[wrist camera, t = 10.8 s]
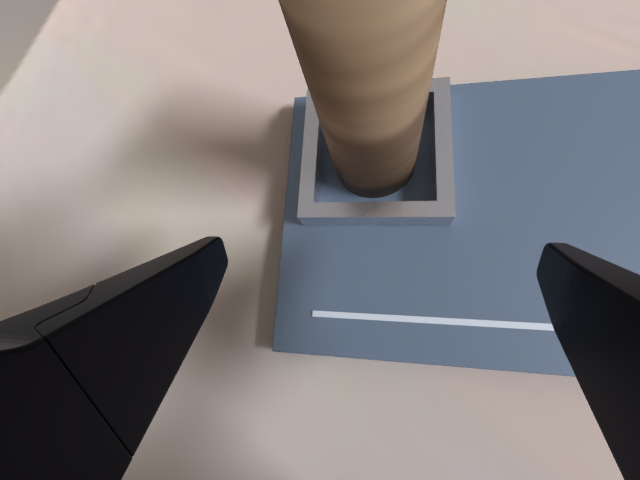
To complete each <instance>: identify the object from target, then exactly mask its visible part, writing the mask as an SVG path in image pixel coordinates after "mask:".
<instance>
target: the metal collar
mask: <svg viewBox="0 0 640 480" xmlns="http://www.w3.org/2000/svg"><path fill="white" fill-rule="evenodd" d="M426 110H430V126H431V166H432V201H383V202H320V190H321V174H322V158H323V142H324V134H323V131H322V128H321V125H320V122H319V119H318V116H317V113H316V110H315V107H314V104H313V101H312V98H311V95H310V92H309V89H307V98H306V111H305V123H304V136H303V149H302V161H301V174H300V187H299V199H298V212H297V218H298V219H299V220H300V222H301V223H302V224H303V225H304V226H450V225H451V223H452V222H453V220H454V219H455V217H456V211H455V188H454V164H453V141H452V118H451V95H450V77H443V78H432V80H431V86H430V91H429V96H428V101H427V106H426Z"/></svg>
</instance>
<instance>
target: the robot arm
mask: <svg viewBox="0 0 640 480" xmlns="http://www.w3.org/2000/svg"><path fill="white" fill-rule="evenodd" d="M227 266H228V258H227V255H226V251H225V247H224V244H223V241H222V239H221V238H220V237H210V236H209V237H205V238H203V239H200V240H198V241H196V242H193V243H191V244H188V245H186V246H184V247H181V248H179V249H177V250H174V251H172V252H170V253H167V254H165V255H162V256H160V257H158V258H155V259H153V260H151V261H148V262H146V263H144V264H141V265H139V266H136V267H134V268H132V269H129V270H127V271H125V272H122V273H120V274H118V275H115V276H113V277H110V278H108V279H106V280H103V281H101V282H99V283H97V284H96V285H91V286H89V287H87V288H84V289H82V290H80V291H77V292H75V293H72V294H70V295H67V296H65V297H62V298H60V299H58V300H55V301H52V302H50V303H47V304H45V305H42V306H40V307H37V308H34V309H32V310H29V311H26V312H24V313H21V314H19V315H16V316H13V317H11V318H8V319H5V320H3V321H0V480H121V479H122V477H123V475H124V473H125V471H126V469H127V468H128V466H129V464H130V462H131V460H132V456H134V454H135V452H136V450H137V448H138V446H139V444H140V442H141V440H142V439H143V437H144V435H145V433H146V431H147V429H148V427H149V425H150V423H151V421H152V419H153V418H154V416H155V414H156V412H157V410H158V408H159V406H160V404H161V402H162V400H163V398H164V397H165V395H166V393H167V391H168V389H169V387H170V385H171V383H172V381H173V379H174V377H175V376H176V374H177V372H178V370H179V368H180V366H181V364H182V362H183V360H184V358H185V356H186V355H187V353H188V351H189V349H190V347H191V345H192V343H193V341H194V339H195V337H196V335H197V334H198V332H199V330H200V328H201V326H202V324H203V322H204V320H205V318H206V316H207V314H208V313H209V311H210V308H211V306H212V304H213V302H214V299H215V297H216V294H217V292H218V289H219V287H220V284H221V282H222V279H223V276H224V274H225V271H226V269H227ZM536 275H537V280H538V283H539V286H540V289H541V292H542V295H543V299H544V302H545V305H546V308H547V311H548V314H549V317H550V320H551V323H552V326H553V329H554V331H555V333H556V335H557V338H558V340H559V342H560V344H561V346H562V348H563V350H564V352H565V355H566V357H567V359H568V361H569V363H570V365H571V367H572V369H573V372H574V374H575V376H576V378H577V380H578V382H579V384H580V386H581V389H582V391H583V393H584V395H585V397H586V399H587V401H588V403H589V406H590V408H591V410H592V412H593V414H594V416H595V418H596V420H597V423H598V425H599V427H600V429H601V431H602V433H603V435H604V437H605V440H606V442H607V444H608V446H609V448H610V450H611V452H612V454H613V457H614V459H615V461H616V463H617V465H618V467H619V469H620V471H621V474H622V476H623V478H624V480H640V275H639V274H637V273H634V272H632V271H630V270H627V269H625V268H623V267H620V266H618V265H616V264H613V263H611V262H609V261H607V260H604V259H602V258H600V257H597V256H595V255H593V254H590V253H588V252H586V251H583V250H581V249H579V248H576V247H574V246H572V245H569V244H567V243H547V244H546V245H545V246H544V248H543V251H542V254H541V257H540V260H539V264H538V267H537V272H536Z"/></svg>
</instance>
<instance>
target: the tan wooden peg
mask: <svg viewBox="0 0 640 480" xmlns="http://www.w3.org/2000/svg"><path fill="white" fill-rule="evenodd" d="M446 2H447V0H279V3H280V6H281V9H282V12H283V15H284V18H285V21H286V24H287V27H288V30H289V33H290V36H291V39H292V42H293V45H294V48H295V51H296V54H297V57H298V60H299V63H300V65H301V68H302V71H303V74H304V77H305V80H306V83H307V86H308V89H309V92H310V95H311V98H312V101H313V104H314V107H315V110H316V113H317V116H318V119H319V122H320V125H321V128H322V131H323V134H324V137H325V140H326V143H327V146H328V149H329V152H330V155H331V158H332V160H333V163H334V166H335V169H336V172H337V175H338V178H339V180H340V181H341V183H342V184H343V185H344V186H345V187H346V188H347V189H348V190H349V191H350V192H352V193H354V194H356V195H358V196H361V197H365V198H381V197H385V196H389V195H391V194H393V193H395V192H397V191H398V190H400V189H401V188H402V187H403V186H404V185H405V184H406V183H407V182H408V181H409V179H410V178H411V176H412V174H413V171H414V168H415V164H416V159H417V153H418V148H419V143H420V138H421V132H422V127H423V122H424V117H425V112H426V106H427V101H428V96H429V91H430V86H431V80H432V75H433V70H434V65H435V60H436V54H437V49H438V44H439V39H440V33H441V28H442V23H443V18H444V13H445V7H446Z"/></svg>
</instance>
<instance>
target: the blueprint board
mask: <svg viewBox="0 0 640 480" xmlns="http://www.w3.org/2000/svg"><path fill="white" fill-rule="evenodd" d="M450 95H451V118H452V141H453V164H454V188H455V211H456V217H455V219H454V220H453V222H452V223H451V225H450V226H304V225H303V224H302V223H301V222H300V220H299V219H298V218H297V212H298V199H299V187H300V174H301V161H302V149H303V136H304V123H305V111H306V98H307V97H298V98H295V101H294V112H293V123H292V135H291V146H290V157H289V168H288V180H287V191H286V202H285V214H284V225H283V236H282V247H281V259H280V270H279V281H278V292H277V304H276V315H275V326H274V337H273V349H272V351H275V352H287V353H299V354H311V355H323V356H335V357H347V358H358V359H370V360H382V361H394V362H406V363H418V364H430V365H442V366H454V367H466V368H478V369H490V370H502V371H514V372H526V373H538V374H550V375H562V376H574V377H576V376H575V374H574V372H573V369H572V367H571V365H570V363H569V361H568V359H567V357H566V355H565V352H564V350H563V348H562V346H561V344H560V342H559V340H558V338H557V335H556V333H555V331H554V329H553V326H552V323H551V320H550V317H549V314H548V311H547V308H546V305H545V302H544V299H543V295H542V292H541V289H540V286H539V283H538V280H537V275H536V272H537V267H538V264H539V260H540V257H541V254H542V251H543V248H544V246H545V245H546V244H547V243H567V244H569V245H572V246H574V247H576V248H579V249H581V250H583V251H586V252H588V253H590V254H593V255H595V256H597V257H600V258H602V259H604V260H607V261H609V262H611V263H613V264H616V265H618V266H620V267H623V268H625V269H627V270H630V271H632V272H634V273H637V274H639V275H640V70H629V71H617V72H605V73H592V74H580V75H568V76H556V77H543V78H531V79H519V80H507V81H494V82H482V83H470V84H458V85H450ZM383 201H432V166H431V126H430V110H426V112H425V117H424V122H423V127H422V132H421V138H420V143H419V148H418V153H417V159H416V164H415V168H414V171H413V174H412V176H411V178H410V179H409V181H408V182H407V183H406V184H405V185H404V186H403V187H402V188H401V189H400V190H398V191H397V192H395V193H393V194H391V195H389V196H385V197H381V198H365V197H361V196H358V195H356V194H354V193H352V192H350V191H349V190H348V189H347V188H346V187H345V186H344V185H343V184H342V183H341V181H340V180H339V178H338V175H337V172H336V169H335V166H334V163H333V160H332V158H331V155H330V152H329V149H328V146H327V143H326V140H325V137H324V142H323V158H322V174H321V190H320V202H383Z"/></svg>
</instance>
